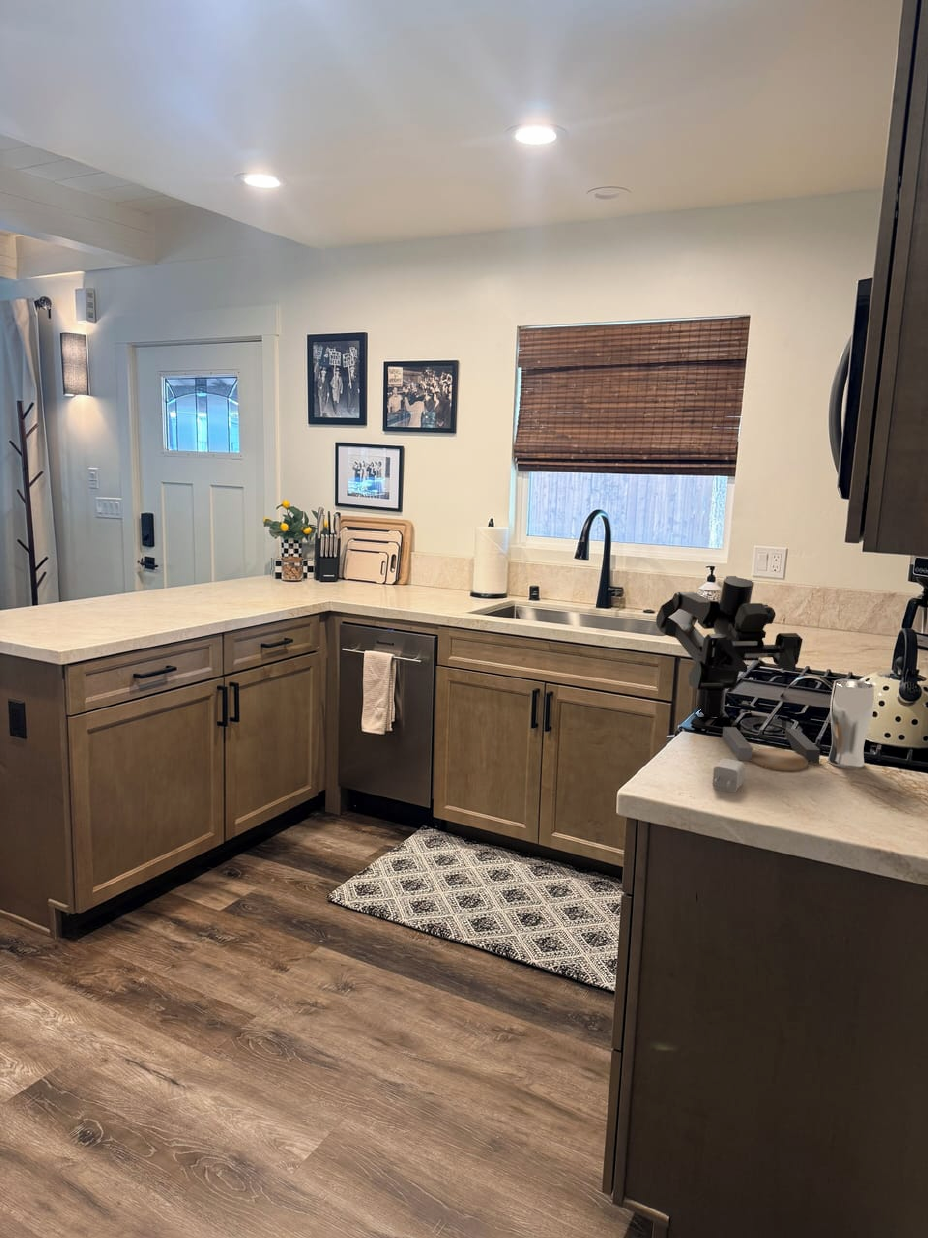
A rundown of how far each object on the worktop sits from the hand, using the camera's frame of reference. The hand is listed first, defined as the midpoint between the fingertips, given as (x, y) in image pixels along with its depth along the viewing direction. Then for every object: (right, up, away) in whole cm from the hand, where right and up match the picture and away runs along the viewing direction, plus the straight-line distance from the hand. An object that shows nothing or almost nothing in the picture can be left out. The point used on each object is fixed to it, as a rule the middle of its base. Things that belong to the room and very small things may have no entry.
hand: (770, 669), depth 152 cm
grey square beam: (-4, -16, +6) cm, 17 cm away
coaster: (+1, -17, 0) cm, 17 cm away
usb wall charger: (-12, -19, -13) cm, 26 cm away
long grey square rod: (+8, -16, +6) cm, 18 cm away
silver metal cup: (+13, -17, -1) cm, 22 cm away
